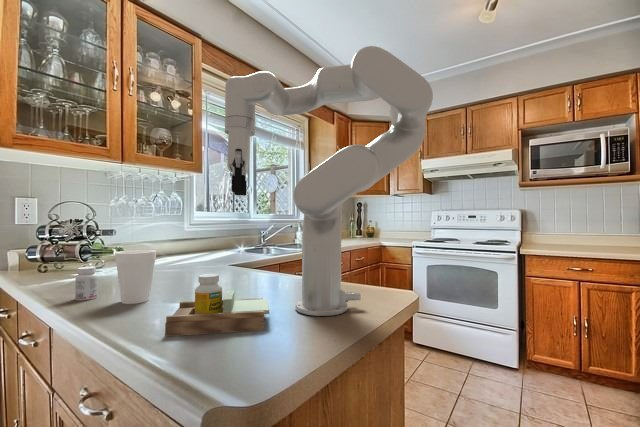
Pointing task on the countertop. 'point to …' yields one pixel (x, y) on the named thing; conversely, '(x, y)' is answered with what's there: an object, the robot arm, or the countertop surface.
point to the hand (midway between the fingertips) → (239, 193)
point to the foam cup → (135, 274)
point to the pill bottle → (86, 283)
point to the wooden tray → (211, 321)
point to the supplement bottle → (208, 295)
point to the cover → (243, 304)
